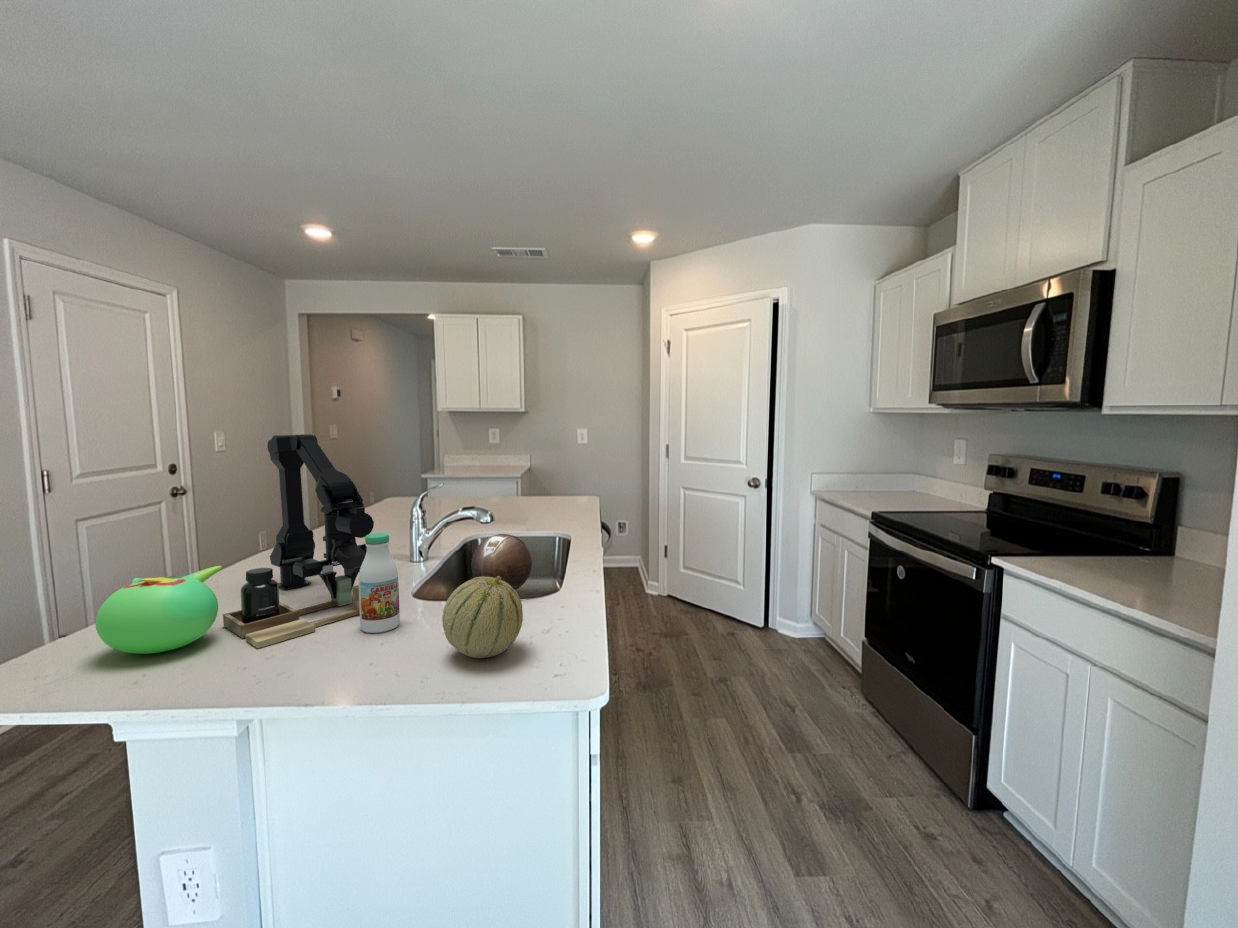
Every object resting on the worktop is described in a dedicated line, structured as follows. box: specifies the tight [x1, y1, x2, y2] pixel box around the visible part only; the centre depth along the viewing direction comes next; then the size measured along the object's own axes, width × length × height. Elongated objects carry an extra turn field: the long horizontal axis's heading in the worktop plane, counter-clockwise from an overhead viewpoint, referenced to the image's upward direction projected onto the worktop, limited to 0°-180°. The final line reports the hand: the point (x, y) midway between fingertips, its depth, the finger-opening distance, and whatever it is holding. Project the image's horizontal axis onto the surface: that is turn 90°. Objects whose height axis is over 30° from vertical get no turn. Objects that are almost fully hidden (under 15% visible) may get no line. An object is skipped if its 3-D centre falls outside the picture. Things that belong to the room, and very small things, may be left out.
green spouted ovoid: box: [95, 565, 223, 655], centre depth 104 cm, size 18×17×15 cm
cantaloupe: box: [441, 576, 524, 659], centre depth 102 cm, size 15×15×15 cm
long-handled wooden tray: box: [245, 584, 360, 649], centre depth 115 cm, size 6×24×6 cm, turn 143°
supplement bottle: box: [240, 567, 280, 624], centre depth 116 cm, size 7×7×12 cm
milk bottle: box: [358, 532, 401, 634], centre depth 115 cm, size 8×8×20 cm
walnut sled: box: [222, 574, 353, 639], centre depth 121 cm, size 11×24×6 cm, turn 143°
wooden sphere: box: [471, 533, 533, 591], centre depth 138 cm, size 15×15×15 cm
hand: (341, 596), depth 130 cm, fingers closed on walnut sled, 3 cm apart
